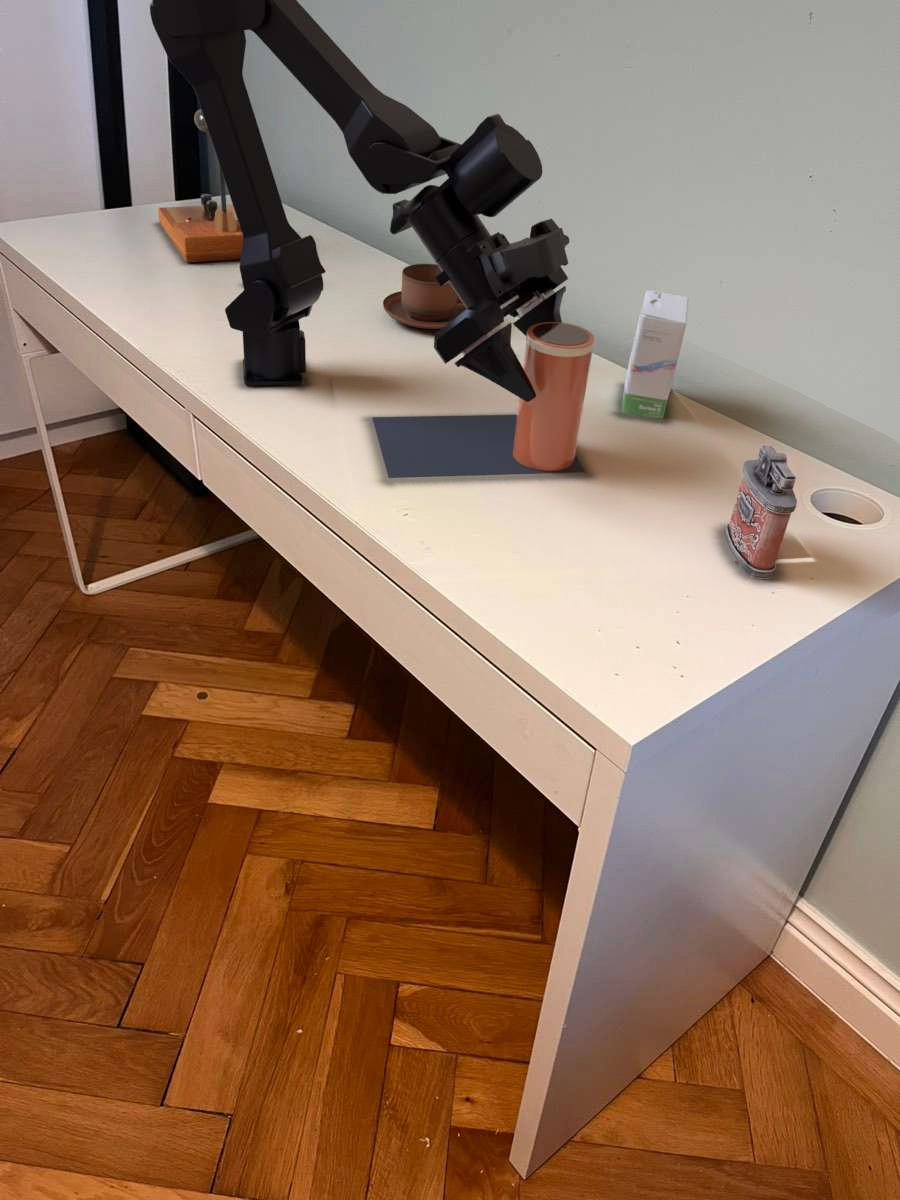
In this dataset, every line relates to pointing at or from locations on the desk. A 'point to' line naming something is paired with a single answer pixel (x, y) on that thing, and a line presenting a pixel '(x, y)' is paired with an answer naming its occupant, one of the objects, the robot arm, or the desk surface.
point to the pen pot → (553, 395)
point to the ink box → (654, 354)
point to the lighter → (761, 512)
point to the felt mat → (452, 446)
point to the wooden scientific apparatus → (204, 224)
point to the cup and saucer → (423, 299)
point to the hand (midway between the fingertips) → (551, 383)
